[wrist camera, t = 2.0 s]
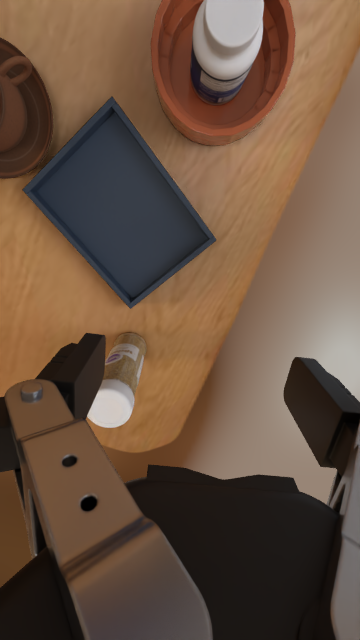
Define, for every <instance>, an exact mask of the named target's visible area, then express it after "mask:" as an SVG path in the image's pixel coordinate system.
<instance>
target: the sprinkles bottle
mask: <svg viewBox="0 0 360 640" xmlns="http://www.w3.org/2000/svg"><path fill="white" fill-rule="evenodd" d="M145 353H146V343H145V341H144V339H143V338H142V337H141V336H139V335H137V334H134V333H124V334H121V335H120V336H119V337H118V338H117V339H116V341H115V342H114V346H113V348H112V350H111V351H110V353H109V355H108V357H107V359H106V361H105V371H104V377H103V381H102V384H101V386H100V388H99V391H98V393H97V395H96V397H95V399H94V402H93V404H92V406H91V408H90V411H89V413H88V415H87V417H88V418H89V419H90V420H91V421H92V422H93V423H95V424H97V425H99V426H101V427H106V428H113V427H118V426H121V425H122V424H124V423H125V422H126V421H127V420H128V419H129V418H130V416H131V413H132V410H133V406H134V395H135V391H136V388H137V385H138V382H139V378H140V374H141V370H142V365H143V361H144V356H145Z"/></svg>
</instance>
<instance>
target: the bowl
mask: <svg viewBox="0 0 360 640" xmlns="http://www.w3.org/2000/svg"><path fill="white" fill-rule="evenodd" d="M203 1H204V0H162V2H161V4H160V6H159V8H158V10H157V13H156V16H155V22H154V27H153V33H152V38H151V56H152V70H153V75H154V81H155V86H156V91H157V94H158V97H159V100H160V103H161V106H162V109H163V111H164V113H165V114H166V116H167V117H168V119H169V120H170V121H171V123H172V124H173V126H174V127H175V128H176V129H177V130H178V131H179V132H181V133H182V134H183V135H185V136H186V137H187V138H189V139H191V140H192V141H195V142H198V143H201V144H204V145H209V146H210V145H226V144H229V143H231V142H234V141H236V140H238V139H241V138H243V137H244V136H246V135H247V134H248V133H249V132H250V131H251V130H252V129H254V128H255V127H256V126H257V125H258V124H259V123H260V122H261V121H262V120H263V119H264V118H265V116H266V115H267V114H268V113H269V112H270V111H271V110H272V108H273V106H274V105H275V103H276V102H277V100H278V99H279V97H280V96H281V94H282V92H283V91H284V89H285V86H286V83H287V80H288V77H289V74H290V71H291V68H292V65H293V60H294V47H295V28H294V22H293V17H292V11H291V6H290V3H289V1H288V0H264V11H263V17H262V20H263V36H262V42H261V46H260V49H259V52H258V54H257V56H256V58H255V61H254V63H253V65H252V67H251V69H250V71H249V73H248V75H247V77H246V79H245V81H244V83H243V85H242V87H241V89H240V90H239V92H238V93H237V95H236V96H235V97H234V98H233V99H232V100H230V101H229V102H227V103H225V104H222V105H211V104H208V103H206V102H204V101H203V100H202V99H200V98H199V96H198V95H197V94H196V92H195V90H194V88H193V86H192V82H191V74H190V66H191V50H192V35H193V27H194V21H195V18H196V14H197V12H198V10H199V8H200V6H201V4H202V2H203Z"/></svg>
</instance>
